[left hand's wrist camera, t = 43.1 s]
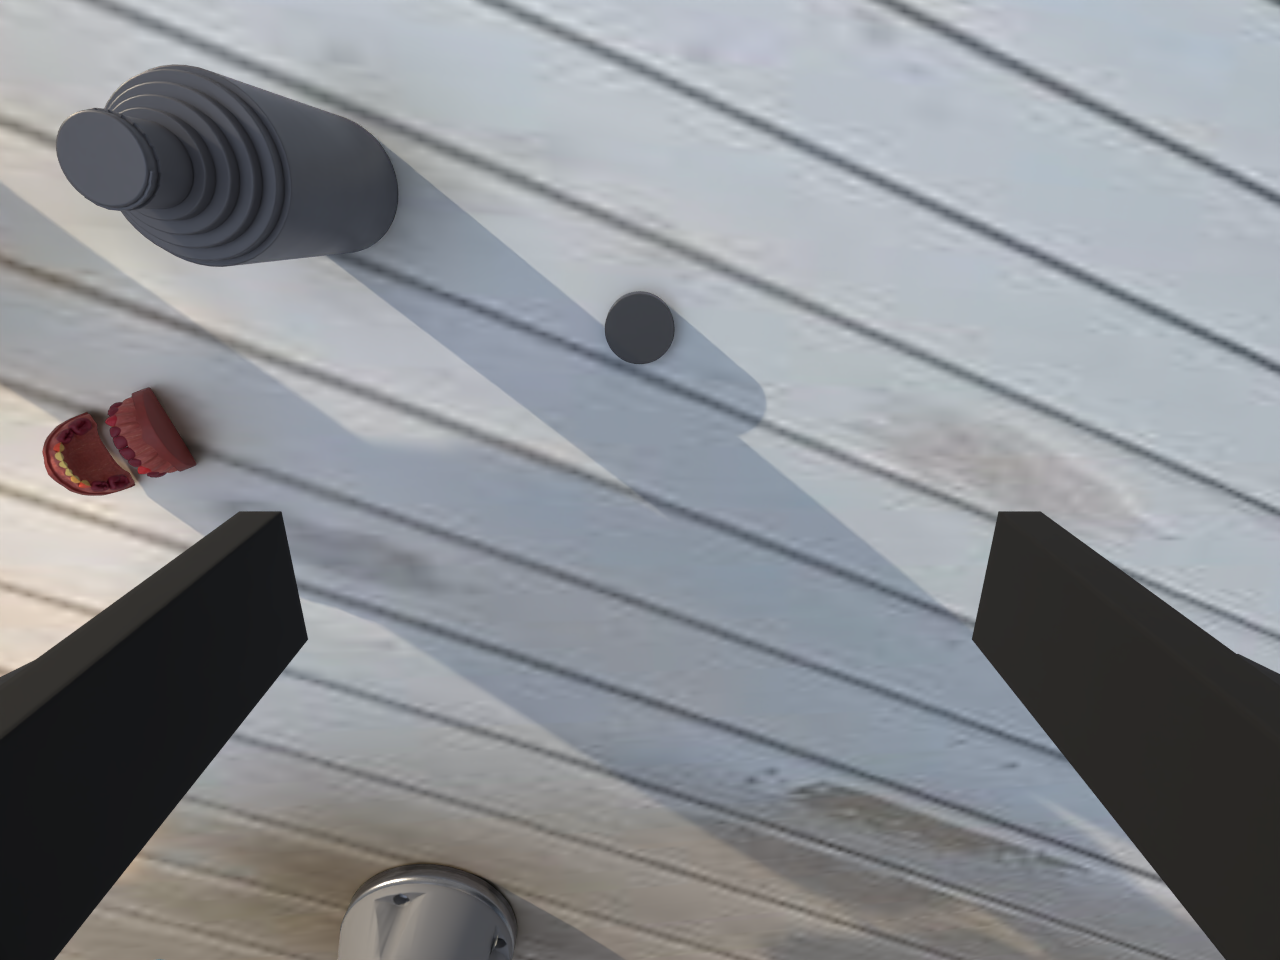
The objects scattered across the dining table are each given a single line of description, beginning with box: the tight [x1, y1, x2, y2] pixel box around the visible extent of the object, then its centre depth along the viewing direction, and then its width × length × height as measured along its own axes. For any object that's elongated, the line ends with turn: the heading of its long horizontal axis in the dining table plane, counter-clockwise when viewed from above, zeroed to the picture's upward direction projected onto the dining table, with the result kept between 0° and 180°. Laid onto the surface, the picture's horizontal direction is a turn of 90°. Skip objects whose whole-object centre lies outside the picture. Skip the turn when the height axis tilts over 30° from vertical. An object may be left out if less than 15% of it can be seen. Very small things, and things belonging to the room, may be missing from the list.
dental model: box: [43, 388, 196, 496], centre depth 43 cm, size 6×4×8 cm
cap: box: [605, 291, 674, 364], centre depth 42 cm, size 4×4×2 cm
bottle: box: [56, 65, 398, 267], centre depth 31 cm, size 7×7×18 cm
